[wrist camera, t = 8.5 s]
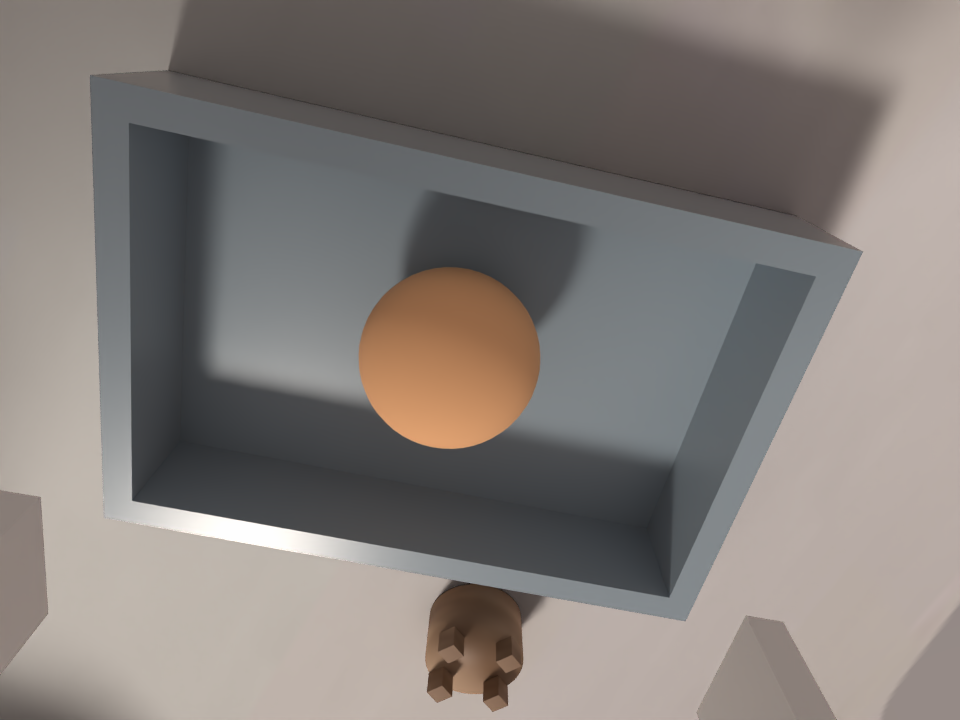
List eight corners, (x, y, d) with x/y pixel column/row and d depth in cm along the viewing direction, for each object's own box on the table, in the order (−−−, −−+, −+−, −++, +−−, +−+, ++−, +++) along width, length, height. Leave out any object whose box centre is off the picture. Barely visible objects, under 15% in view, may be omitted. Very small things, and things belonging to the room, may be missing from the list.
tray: (161, 448, 28) (103, 517, 24) (167, 70, 22) (90, 74, 17) (658, 541, 30) (685, 621, 25) (796, 215, 23) (862, 251, 19)
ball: (364, 378, 26) (329, 465, 20) (388, 229, 23) (356, 282, 18) (513, 408, 26) (519, 501, 21) (553, 266, 24) (571, 328, 18)
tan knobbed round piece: (462, 663, 33) (459, 725, 30) (411, 607, 32) (403, 667, 28) (537, 629, 32) (543, 690, 29) (489, 570, 30) (489, 628, 27)
